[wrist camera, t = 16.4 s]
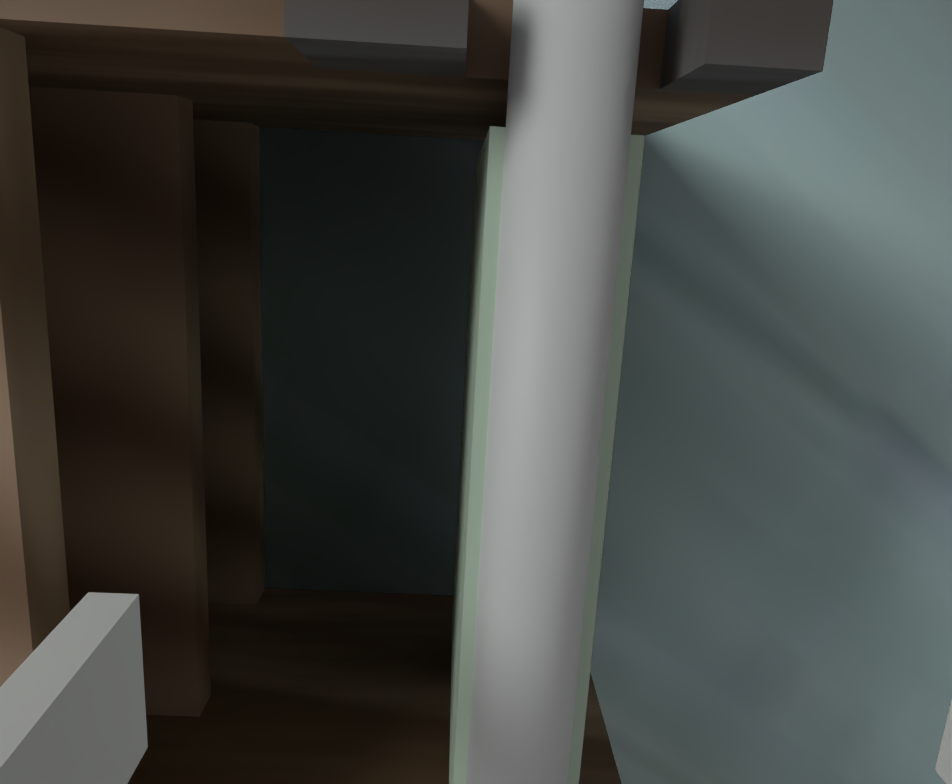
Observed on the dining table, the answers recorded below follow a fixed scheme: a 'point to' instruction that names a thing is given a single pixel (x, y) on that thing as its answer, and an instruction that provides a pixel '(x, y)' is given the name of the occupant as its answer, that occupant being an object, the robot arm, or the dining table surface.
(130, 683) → the robot arm
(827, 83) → the dining table surface
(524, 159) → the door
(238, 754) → the cabinet
